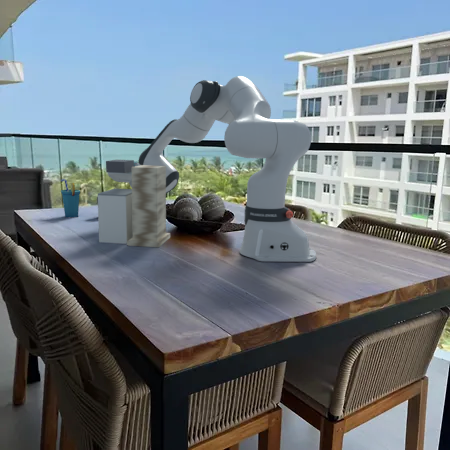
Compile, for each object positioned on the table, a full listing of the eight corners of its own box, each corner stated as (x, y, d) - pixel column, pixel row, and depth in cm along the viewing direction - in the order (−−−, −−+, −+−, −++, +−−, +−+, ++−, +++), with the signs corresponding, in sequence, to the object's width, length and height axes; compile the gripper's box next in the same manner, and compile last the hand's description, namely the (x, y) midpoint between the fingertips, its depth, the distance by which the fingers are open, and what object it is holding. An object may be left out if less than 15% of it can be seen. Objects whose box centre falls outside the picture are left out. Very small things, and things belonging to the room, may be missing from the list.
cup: (53, 214, 188) (52, 178, 185) (71, 212, 193) (70, 177, 190) (69, 219, 178) (67, 181, 175) (87, 217, 183) (86, 180, 180)
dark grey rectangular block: (141, 168, 158) (141, 158, 158) (124, 173, 141) (124, 161, 141) (125, 168, 159) (125, 158, 158) (106, 172, 142) (105, 161, 141)
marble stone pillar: (170, 237, 152) (170, 165, 148) (158, 247, 139) (158, 168, 134) (141, 235, 154) (140, 164, 149) (127, 245, 140) (126, 167, 135)
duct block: (140, 234, 156) (139, 189, 153) (126, 243, 142) (125, 194, 139) (115, 233, 157) (114, 188, 154) (99, 242, 143) (97, 193, 140)
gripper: (116, 172, 171) (103, 155, 158) (169, 174, 168) (160, 157, 155) (113, 187, 169) (99, 171, 156) (166, 189, 166) (157, 173, 153)
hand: (130, 164), depth 155 cm, fingers closed on dark grey rectangular block, 2 cm apart
